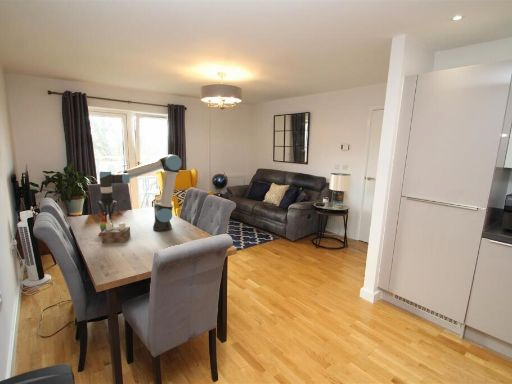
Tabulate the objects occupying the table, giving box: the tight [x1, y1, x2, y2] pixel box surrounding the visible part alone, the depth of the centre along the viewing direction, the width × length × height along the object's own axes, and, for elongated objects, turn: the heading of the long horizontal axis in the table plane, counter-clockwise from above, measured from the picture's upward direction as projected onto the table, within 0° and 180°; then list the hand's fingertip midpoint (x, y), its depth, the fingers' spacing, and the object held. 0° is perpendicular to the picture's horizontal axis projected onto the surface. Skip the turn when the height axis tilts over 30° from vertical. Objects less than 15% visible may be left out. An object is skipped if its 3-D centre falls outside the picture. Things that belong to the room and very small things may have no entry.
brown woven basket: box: [100, 226, 131, 244], centre depth 198 cm, size 16×12×8 cm
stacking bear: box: [98, 212, 114, 237], centre depth 210 cm, size 11×10×18 cm
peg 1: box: [106, 223, 114, 231], centre depth 197 cm, size 4×4×8 cm
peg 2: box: [118, 222, 126, 230], centre depth 198 cm, size 4×4×8 cm
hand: (108, 223), depth 196 cm, fingers closed
